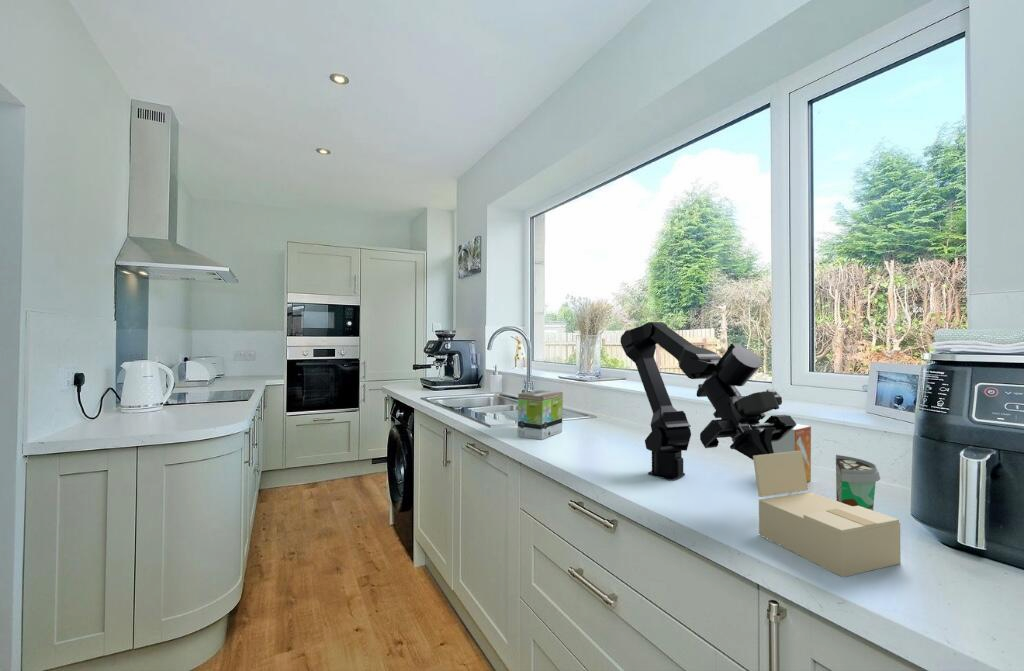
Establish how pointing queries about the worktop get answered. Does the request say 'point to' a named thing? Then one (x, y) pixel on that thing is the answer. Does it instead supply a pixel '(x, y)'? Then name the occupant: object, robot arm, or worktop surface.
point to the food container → (855, 481)
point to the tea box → (540, 414)
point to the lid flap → (780, 473)
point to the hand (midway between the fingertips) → (775, 470)
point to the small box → (797, 445)
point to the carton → (831, 532)
